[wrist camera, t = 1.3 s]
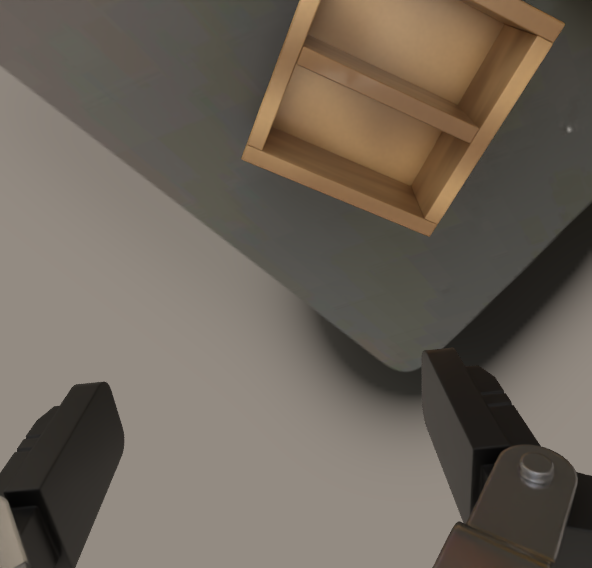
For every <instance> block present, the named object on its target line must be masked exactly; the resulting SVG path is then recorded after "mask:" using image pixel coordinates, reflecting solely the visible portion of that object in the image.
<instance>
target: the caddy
mask: <svg viewBox="0 0 592 568" xmlns="http://www.w3.org/2000/svg"><path fill="white" fill-rule="evenodd" d="M564 26H565V23H563V22H561V21H560V20H558V19H556V18H554V17H552V16H550V15H548V14H546V13H544V12H543V11H541V10H539V9H537V8H535V7H533V6H531V5H529V4H527V3H526V2H524V1H522V0H300V1H299V3H298V6H297V9H296V11H295V14H294V17H293V20H292V22H291V25H290V28H289V30H288V33H287V36H286V39H285V41H284V44H283V47H282V49H281V52H280V55H279V57H278V60H277V63H276V66H275V68H274V71H273V74H272V76H271V79H270V82H269V85H268V87H267V90H266V93H265V95H264V98H263V101H262V104H261V106H260V109H259V112H258V114H257V117H256V120H255V123H254V125H253V128H252V131H251V133H250V136H249V139H248V142H247V144H246V147H245V150H244V152H243V155H242V158H241V159H242V160H244V161H246V162H249V163H251V164H254V165H256V166H259V167H261V168H263V169H266V170H268V171H271V172H273V173H276V174H278V175H281V176H283V177H285V178H288V179H290V180H293V181H295V182H298V183H300V184H302V185H305V186H307V187H310V188H312V189H315V190H317V191H319V192H322V193H324V194H327V195H329V196H332V197H334V198H336V199H339V200H341V201H344V202H346V203H349V204H351V205H353V206H356V207H358V208H361V209H363V210H366V211H368V212H371V213H373V214H375V215H378V216H380V217H383V218H385V219H388V220H390V221H392V222H395V223H397V224H400V225H402V226H405V227H407V228H409V229H412V230H414V231H417V232H419V233H422V234H424V235H426V236H430V235H431V234H432V232H433V231H434V229H435V227H436V226H437V224H438V223H439V221H440V220H441V218H442V217H443V215H444V214H445V212H446V211H447V209H448V207H449V206H450V204H451V203H452V201H453V200H454V198H455V196H456V195H457V193H458V192H459V190H460V189H461V187H462V185H463V184H464V182H465V181H466V179H467V178H468V176H469V175H470V173H471V171H472V170H473V168H474V167H475V165H476V164H477V162H478V160H479V159H480V157H481V156H482V154H483V153H484V151H485V150H486V148H487V146H488V145H489V143H490V142H491V140H492V139H493V137H494V135H495V134H496V132H497V131H498V129H499V128H500V126H501V125H502V123H503V121H504V120H505V118H506V117H507V115H508V114H509V112H510V110H511V109H512V107H513V106H514V104H515V103H516V101H517V100H518V98H519V96H520V95H521V93H522V92H523V90H524V89H525V87H526V85H527V84H528V82H529V81H530V79H531V78H532V76H533V75H534V73H535V71H536V70H537V68H538V67H539V65H540V64H541V62H542V60H543V59H544V57H545V56H546V54H547V53H548V51H549V50H550V48H551V46H552V45H553V42H554V41H555V40H556V38H557V37H558V35H559V34H560V32H561V30H562V29H563V27H564Z"/></svg>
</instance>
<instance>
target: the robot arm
mask: <svg viewBox="0 0 592 568" xmlns="http://www.w3.org/2000/svg"><path fill="white" fill-rule="evenodd" d="M422 408H423V415H424V420H425V424H426V427H427V429H428V432H429V435H430V437H431V440H432V442H433V445H434V448H435V450H436V453H437V455H438V458H439V461H440V463H441V466H442V468H443V471H444V474H445V476H446V478H447V481H448V484H449V486H450V489H451V491H452V494H453V497H454V499H455V502H456V504H457V507H458V510H459V512H460V515H461V518H462V520H463V523H462V522H457V523H456V524H455V525H454V527H453V528H452V530H451V532H450V534H449V536H448V538H447V540H446V542H445V544H444V546H443V548H442V550H441V552H440V554H439V556H438V558H437V560H436V562H435V564H434V566H433V568H592V476H590V475H585V474H581V473H578V472H576V471H575V469H574V468H573V466H572V465H571V464H570V463H569V461H567V460H566V459H565V458H564V457H563V456H561V455H560V454H558V453H556V452H554V451H552V450H550V449H547V448H544V447H541V446H540V444H539V443H538V441H537V440H536V439H535V437H534V435H533V434H532V432H531V431H530V429H529V428H528V426H527V425H526V423H525V422H524V420H523V419H522V417H521V416H520V414H519V413H518V411H517V410H516V408H515V407H514V405H512V403H511V401H510V399H509V398H508V396H507V395H506V394H504V390H503V389H502V387H501V386H500V384H499V383H498V381H497V380H496V378H495V377H494V376H492V375H491V374H490V373H488V372H487V371H485V370H484V369H482V368H481V367H479V366H468V367H465V366H464V364H463V362H462V360H461V359H460V357H459V355H458V354H457V352H456V350H455V349H454V348H446V349H436V350H426V351H423V353H422ZM123 449H124V432H123V427H122V424H121V421H120V418H119V415H118V411H117V408H116V405H115V401H114V398H113V395H112V391H111V389H110V386H109V385H108V383H106V382H97V383H87V384H76V385H74V386H73V387H72V388H71V390H70V391H69V393H68V394H67V396H66V397H65V399H64V400H63V402H62V403H61V405H60V406H54V407H53V408H52V409H50V410H49V411H48V412H47V413H46V414H44V415H43V416H42V417H41V418H40V419H38V420H37V421H36V423H35V424H34V425H33V427H32V428H31V430H30V431H29V433H28V434H27V435H26V439H24V440H23V441H22V443H21V444H20V446H19V447H18V448H17V452H15V453H14V454H13V455H12V457H11V458H10V460H9V461H8V463H7V464H6V466H5V467H4V468H3V470H2V471H1V473H0V568H75V567H76V564H77V562H78V560H79V557H80V555H81V552H82V550H83V548H84V545H85V543H86V540H87V538H88V536H89V533H90V531H91V528H92V526H93V524H94V521H95V519H96V516H97V514H98V512H99V509H100V507H101V504H102V502H103V500H104V497H105V495H106V493H107V490H108V488H109V485H110V483H111V480H112V478H113V476H114V473H115V471H116V469H117V466H118V464H119V461H120V459H121V456H122V454H123Z"/></svg>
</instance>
